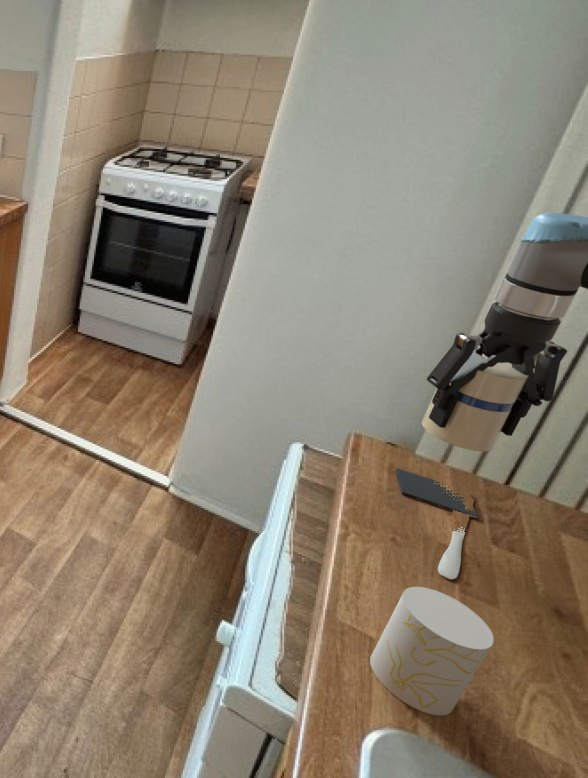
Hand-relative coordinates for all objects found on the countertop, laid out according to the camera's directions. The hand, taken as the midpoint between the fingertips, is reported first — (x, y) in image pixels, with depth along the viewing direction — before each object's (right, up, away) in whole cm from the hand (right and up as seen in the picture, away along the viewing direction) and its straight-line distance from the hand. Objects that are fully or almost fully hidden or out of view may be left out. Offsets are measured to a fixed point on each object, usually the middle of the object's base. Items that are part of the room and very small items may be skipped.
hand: (469, 426), depth 102 cm
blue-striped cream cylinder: (+1, +6, +4) cm, 8 cm away
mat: (0, -14, +6) cm, 16 cm away
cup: (-34, -26, -25) cm, 49 cm away
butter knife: (-4, -18, -2) cm, 18 cm away
